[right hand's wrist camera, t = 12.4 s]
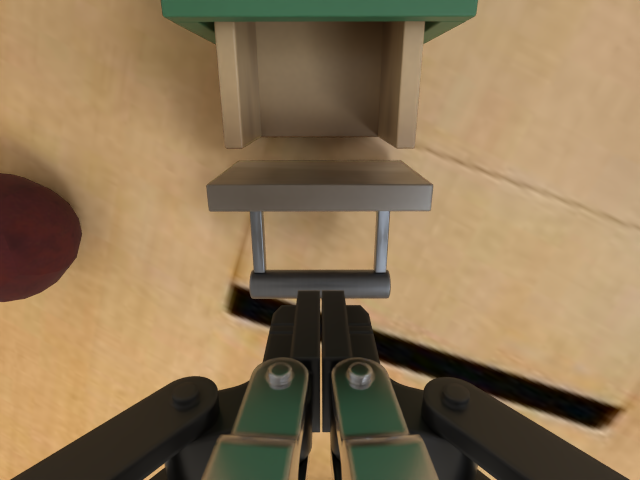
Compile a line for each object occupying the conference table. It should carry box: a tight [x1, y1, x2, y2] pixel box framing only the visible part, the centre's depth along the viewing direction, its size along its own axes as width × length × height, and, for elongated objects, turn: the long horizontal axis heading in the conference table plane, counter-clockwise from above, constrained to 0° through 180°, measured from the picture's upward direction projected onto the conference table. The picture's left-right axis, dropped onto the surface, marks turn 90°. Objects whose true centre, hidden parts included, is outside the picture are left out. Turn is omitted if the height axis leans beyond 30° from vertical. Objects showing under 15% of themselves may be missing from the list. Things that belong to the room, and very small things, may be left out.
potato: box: [0, 173, 82, 302], centre depth 21 cm, size 7×8×7 cm
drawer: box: [206, 21, 433, 299], centre depth 18 cm, size 22×10×7 cm, turn 0°
